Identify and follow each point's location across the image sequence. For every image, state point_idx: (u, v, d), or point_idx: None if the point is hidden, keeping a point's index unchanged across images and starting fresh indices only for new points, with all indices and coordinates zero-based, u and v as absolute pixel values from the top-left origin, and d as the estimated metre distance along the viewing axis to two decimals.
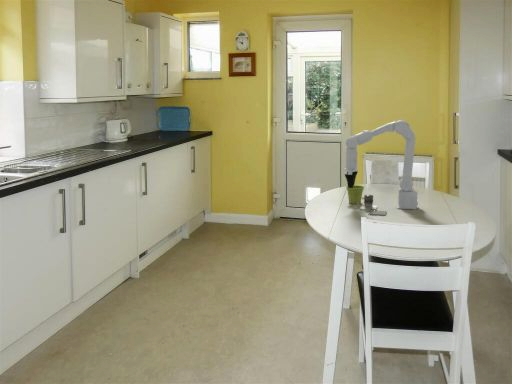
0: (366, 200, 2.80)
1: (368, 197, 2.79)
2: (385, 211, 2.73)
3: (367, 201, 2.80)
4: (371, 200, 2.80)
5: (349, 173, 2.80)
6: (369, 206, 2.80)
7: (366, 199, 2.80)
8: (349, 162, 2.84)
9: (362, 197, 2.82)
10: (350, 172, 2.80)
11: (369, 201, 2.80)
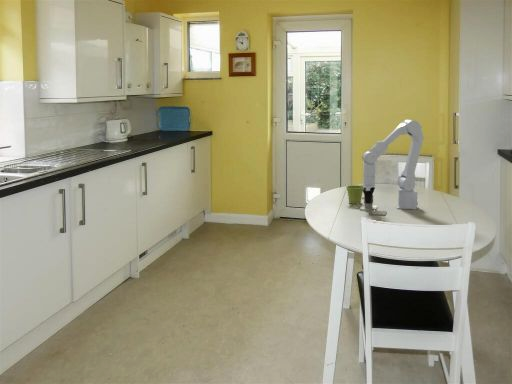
0: None
1: None
2: (385, 211, 2.73)
3: None
4: (371, 200, 2.80)
5: (367, 189, 2.74)
6: (369, 206, 2.80)
7: None
8: (367, 178, 2.77)
9: (362, 197, 2.82)
10: (368, 188, 2.73)
11: None
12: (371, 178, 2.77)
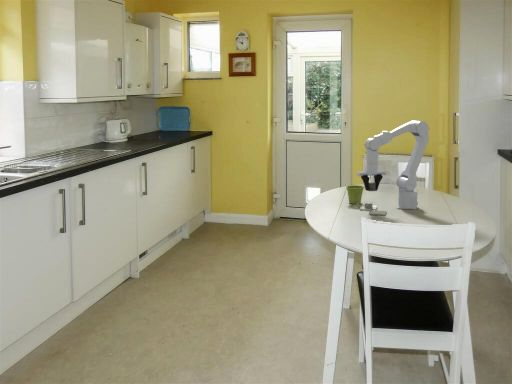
0: None
1: None
2: (385, 211, 2.73)
3: None
4: (369, 187, 2.76)
5: (358, 174, 2.75)
6: (369, 206, 2.80)
7: None
8: (366, 164, 2.75)
9: None
10: (358, 173, 2.74)
11: None
12: (368, 165, 2.73)
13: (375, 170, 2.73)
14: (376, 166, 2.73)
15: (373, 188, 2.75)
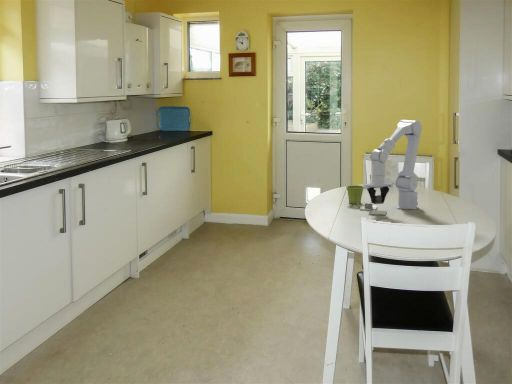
0: None
1: None
2: (385, 211, 2.73)
3: None
4: (375, 200, 2.69)
5: (364, 187, 2.68)
6: (369, 206, 2.80)
7: None
8: (372, 176, 2.68)
9: None
10: (364, 186, 2.67)
11: None
12: (374, 177, 2.67)
13: (382, 182, 2.66)
14: (383, 178, 2.66)
15: (379, 201, 2.69)
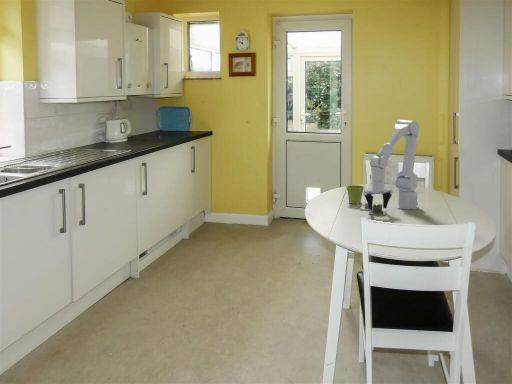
0: None
1: (373, 206, 2.71)
2: (385, 211, 2.73)
3: (372, 210, 2.72)
4: (375, 210, 2.70)
5: (364, 193, 2.68)
6: None
7: None
8: (372, 182, 2.69)
9: None
10: (364, 192, 2.68)
11: (373, 210, 2.71)
12: (374, 183, 2.67)
13: (381, 189, 2.67)
14: (382, 184, 2.67)
15: (379, 210, 2.70)
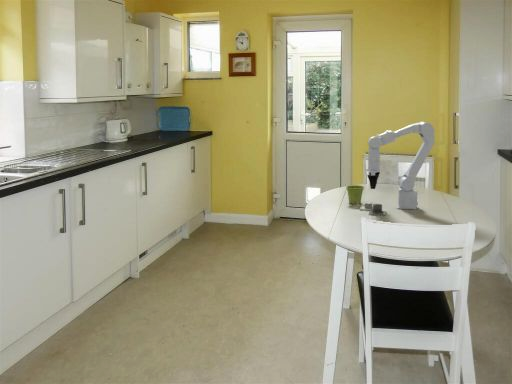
0: None
1: (373, 206, 2.71)
2: (385, 211, 2.73)
3: (372, 210, 2.72)
4: (375, 210, 2.70)
5: (372, 174, 2.75)
6: (369, 206, 2.80)
7: None
8: (372, 162, 2.78)
9: None
10: (373, 173, 2.74)
11: (373, 210, 2.71)
12: (376, 163, 2.78)
13: None
14: None
15: (379, 210, 2.70)
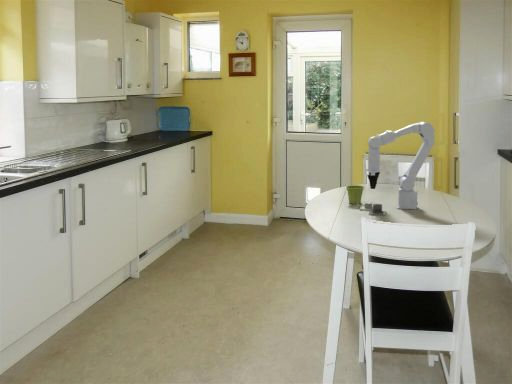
0: None
1: (373, 206, 2.71)
2: (385, 211, 2.73)
3: (372, 210, 2.72)
4: (375, 210, 2.70)
5: (372, 174, 2.75)
6: (369, 206, 2.80)
7: None
8: (372, 162, 2.78)
9: None
10: (373, 173, 2.74)
11: (373, 210, 2.71)
12: (376, 163, 2.78)
13: None
14: None
15: (379, 210, 2.70)
